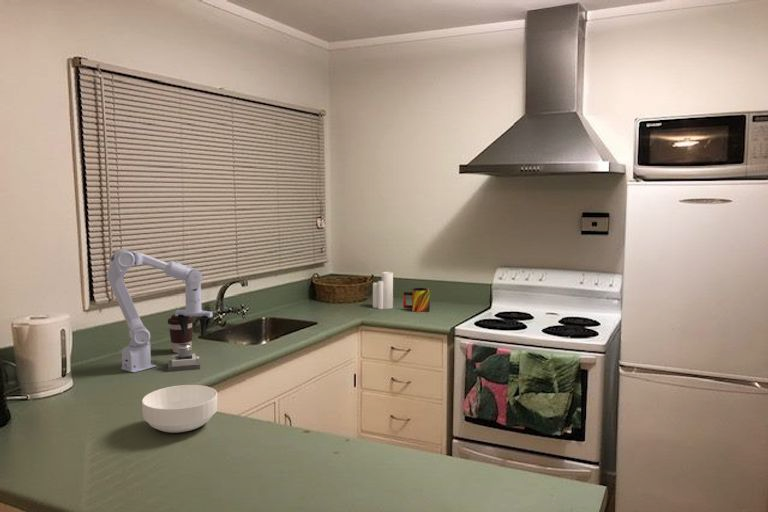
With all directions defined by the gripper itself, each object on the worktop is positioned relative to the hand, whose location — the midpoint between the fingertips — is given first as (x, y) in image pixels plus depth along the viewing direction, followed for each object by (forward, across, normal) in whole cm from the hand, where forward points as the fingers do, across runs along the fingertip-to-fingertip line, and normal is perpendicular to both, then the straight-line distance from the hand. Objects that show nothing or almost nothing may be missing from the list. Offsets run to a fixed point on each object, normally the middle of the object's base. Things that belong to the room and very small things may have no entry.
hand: (194, 334), depth 225 cm
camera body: (+10, -1, +9) cm, 13 cm away
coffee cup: (+10, +12, -10) cm, 19 cm away
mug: (+10, -69, -114) cm, 134 cm away
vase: (+10, -49, -118) cm, 128 cm away
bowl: (+10, -29, +59) cm, 67 cm away
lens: (+8, -1, +8) cm, 12 cm away
